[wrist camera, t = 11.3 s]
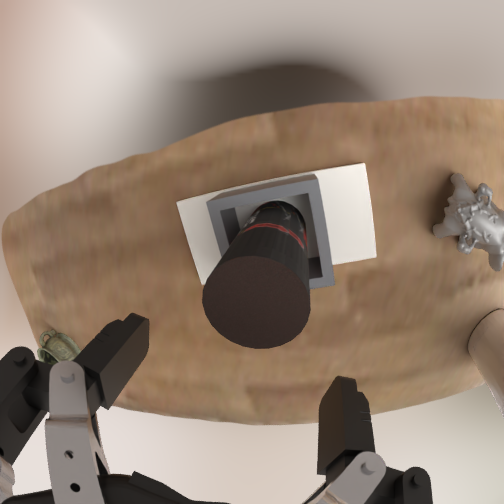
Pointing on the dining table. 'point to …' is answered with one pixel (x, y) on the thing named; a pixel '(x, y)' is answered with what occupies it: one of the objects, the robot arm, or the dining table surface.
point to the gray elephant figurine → (474, 221)
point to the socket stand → (310, 206)
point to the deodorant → (262, 280)
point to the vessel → (57, 348)
